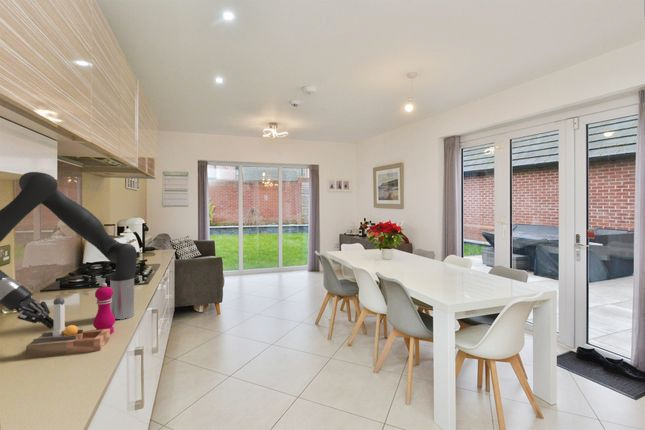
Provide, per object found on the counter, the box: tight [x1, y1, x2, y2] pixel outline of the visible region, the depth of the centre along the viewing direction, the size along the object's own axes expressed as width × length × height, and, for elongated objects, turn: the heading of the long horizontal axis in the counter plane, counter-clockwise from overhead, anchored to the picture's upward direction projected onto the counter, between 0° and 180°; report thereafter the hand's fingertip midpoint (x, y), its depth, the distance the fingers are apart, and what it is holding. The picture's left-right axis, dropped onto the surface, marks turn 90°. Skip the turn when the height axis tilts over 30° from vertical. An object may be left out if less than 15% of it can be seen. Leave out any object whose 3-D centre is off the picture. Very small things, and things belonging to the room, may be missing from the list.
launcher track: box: [25, 328, 111, 359], centre depth 114 cm, size 10×21×5 cm, turn 107°
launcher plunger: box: [52, 297, 66, 337], centre depth 113 cm, size 4×3×14 cm
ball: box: [64, 324, 79, 336], centre depth 114 cm, size 4×4×4 cm
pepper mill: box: [92, 282, 116, 335], centre depth 127 cm, size 7×7×20 cm
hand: (54, 325), depth 112 cm, fingers closed
